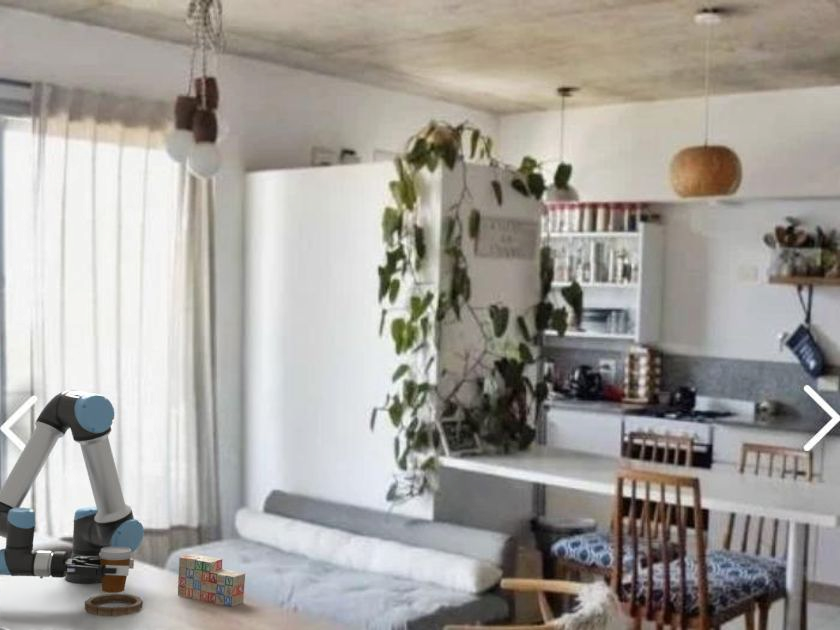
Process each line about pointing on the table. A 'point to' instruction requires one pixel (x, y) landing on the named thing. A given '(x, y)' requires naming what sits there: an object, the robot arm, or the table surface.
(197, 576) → the stack of blocks
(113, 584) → the disposable coffee cup
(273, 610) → the table surface
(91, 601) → the walnut bead ring
